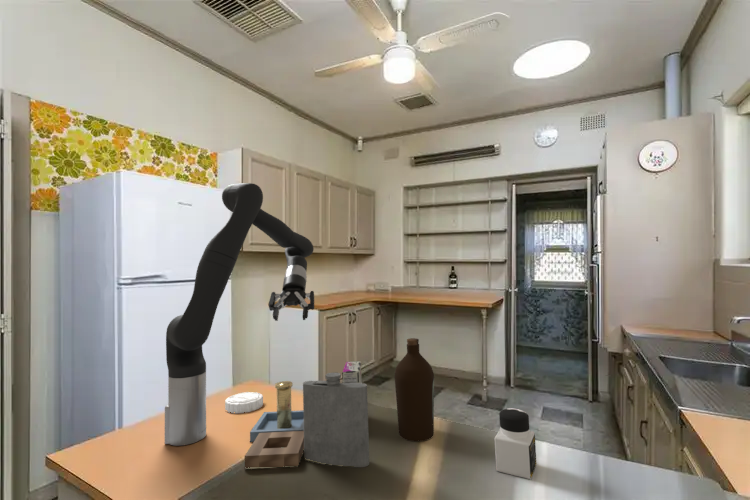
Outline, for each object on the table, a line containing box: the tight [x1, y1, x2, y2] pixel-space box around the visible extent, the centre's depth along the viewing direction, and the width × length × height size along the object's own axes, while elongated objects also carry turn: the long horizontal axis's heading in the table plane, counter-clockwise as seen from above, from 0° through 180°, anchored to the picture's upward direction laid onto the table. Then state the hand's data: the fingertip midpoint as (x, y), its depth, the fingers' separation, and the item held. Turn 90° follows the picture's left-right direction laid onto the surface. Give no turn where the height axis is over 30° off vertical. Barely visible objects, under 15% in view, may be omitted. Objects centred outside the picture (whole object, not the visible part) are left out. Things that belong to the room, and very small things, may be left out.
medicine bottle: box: [494, 407, 538, 480], centre depth 80 cm, size 7×7×12 cm
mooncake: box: [224, 391, 264, 414], centre depth 123 cm, size 12×12×4 cm
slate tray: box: [249, 409, 304, 443], centre depth 103 cm, size 14×14×2 cm
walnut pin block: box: [244, 431, 304, 468], centre depth 88 cm, size 12×12×3 cm
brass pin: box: [274, 380, 294, 429], centre depth 104 cm, size 5×5×12 cm
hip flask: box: [302, 372, 370, 468], centre depth 85 cm, size 16×4×20 cm, turn 75°
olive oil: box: [394, 337, 435, 442], centre depth 99 cm, size 11×11×25 cm
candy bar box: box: [341, 360, 363, 383], centre depth 107 cm, size 11×5×16 cm, turn 179°
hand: (290, 318), depth 113 cm, fingers open, 8 cm apart
